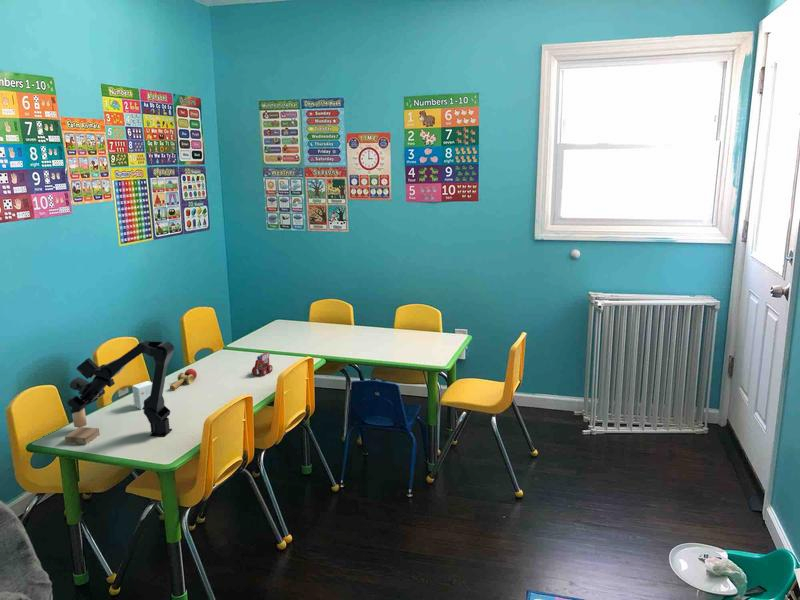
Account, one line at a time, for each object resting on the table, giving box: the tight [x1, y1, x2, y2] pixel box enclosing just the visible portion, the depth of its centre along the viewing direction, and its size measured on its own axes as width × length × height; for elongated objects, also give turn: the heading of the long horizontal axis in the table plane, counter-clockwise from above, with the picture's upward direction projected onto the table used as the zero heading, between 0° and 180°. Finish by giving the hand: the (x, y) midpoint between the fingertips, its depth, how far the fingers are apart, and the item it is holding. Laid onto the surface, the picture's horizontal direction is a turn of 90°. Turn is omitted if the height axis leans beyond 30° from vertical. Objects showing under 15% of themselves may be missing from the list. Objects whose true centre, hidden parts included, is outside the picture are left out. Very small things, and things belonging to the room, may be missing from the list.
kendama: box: [169, 368, 198, 391], centre depth 318 cm, size 8×6×18 cm
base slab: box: [64, 426, 101, 445], centre depth 258 cm, size 9×9×3 cm
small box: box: [132, 380, 153, 410], centre depth 291 cm, size 8×6×10 cm
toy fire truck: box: [251, 351, 273, 377], centre depth 331 cm, size 7×12×10 cm, turn 157°
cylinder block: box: [70, 397, 88, 428], centre depth 265 cm, size 5×5×11 cm
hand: (75, 410), depth 265 cm, fingers closed on cylinder block, 5 cm apart
